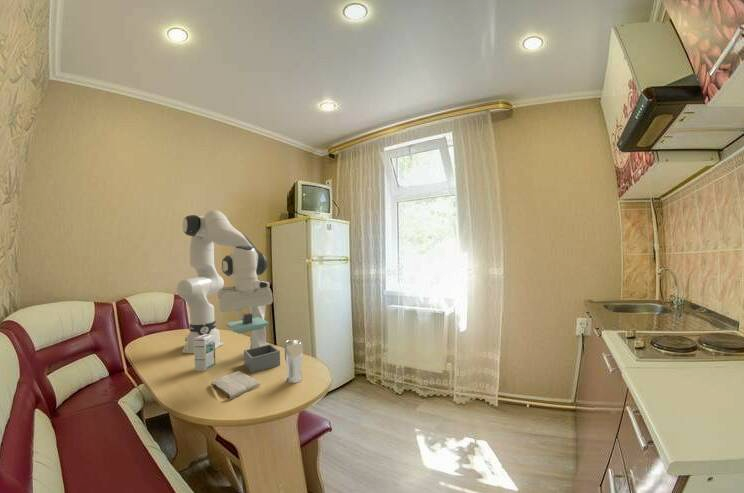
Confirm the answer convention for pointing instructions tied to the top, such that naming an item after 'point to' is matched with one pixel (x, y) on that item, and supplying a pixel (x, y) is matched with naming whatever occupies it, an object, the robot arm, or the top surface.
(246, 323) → the lid
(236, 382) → the washcloth
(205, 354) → the syrup box
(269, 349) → the box
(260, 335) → the skyscraper
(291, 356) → the beer glass
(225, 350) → the top surface
